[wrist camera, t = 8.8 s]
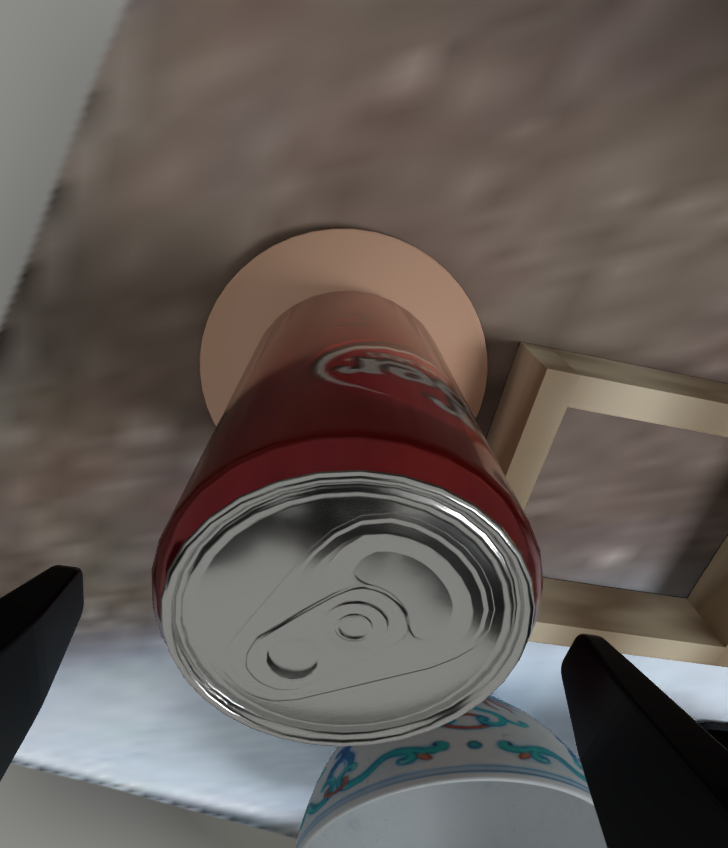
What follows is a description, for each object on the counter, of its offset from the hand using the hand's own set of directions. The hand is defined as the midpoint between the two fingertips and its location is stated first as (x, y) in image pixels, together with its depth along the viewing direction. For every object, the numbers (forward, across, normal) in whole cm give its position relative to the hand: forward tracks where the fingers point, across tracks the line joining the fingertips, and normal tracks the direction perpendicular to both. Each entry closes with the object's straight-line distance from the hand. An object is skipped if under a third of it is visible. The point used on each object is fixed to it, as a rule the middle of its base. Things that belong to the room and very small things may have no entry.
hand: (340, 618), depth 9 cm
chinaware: (+12, -9, +20) cm, 25 cm away
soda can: (+12, 0, 0) cm, 12 cm away
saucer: (+12, 0, 0) cm, 12 cm away
